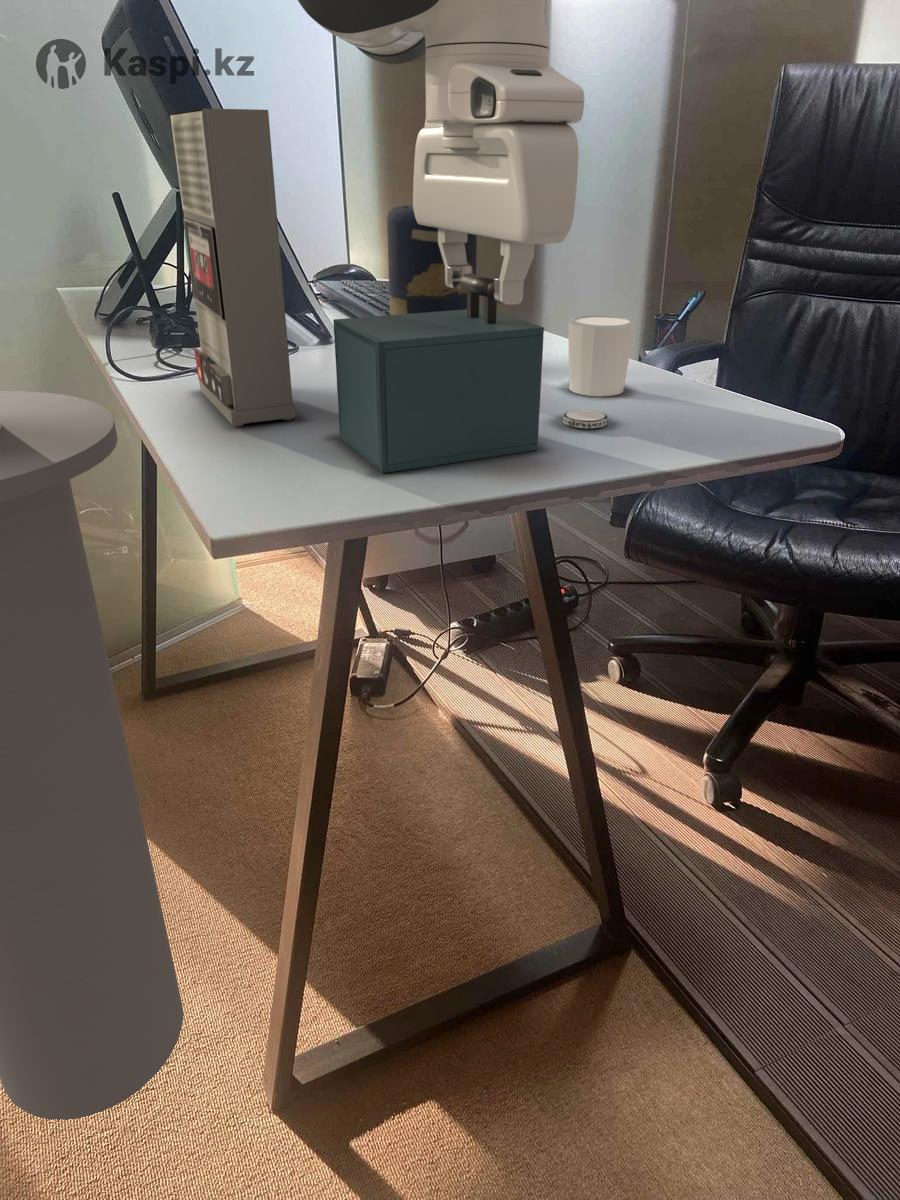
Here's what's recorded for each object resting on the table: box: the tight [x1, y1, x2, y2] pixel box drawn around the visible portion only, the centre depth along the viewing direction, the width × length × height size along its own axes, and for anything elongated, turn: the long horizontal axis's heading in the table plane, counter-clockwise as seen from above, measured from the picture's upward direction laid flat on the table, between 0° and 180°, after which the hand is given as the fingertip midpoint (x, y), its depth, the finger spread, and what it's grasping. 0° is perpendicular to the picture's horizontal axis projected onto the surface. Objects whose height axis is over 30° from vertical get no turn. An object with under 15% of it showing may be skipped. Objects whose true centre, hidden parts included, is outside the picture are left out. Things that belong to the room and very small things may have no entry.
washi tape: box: [562, 409, 608, 429], centre depth 79 cm, size 4×4×1 cm
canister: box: [386, 204, 478, 315], centre depth 93 cm, size 10×10×18 cm
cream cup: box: [567, 315, 637, 397], centre depth 88 cm, size 7×7×7 cm
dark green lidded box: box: [333, 273, 545, 474], centre depth 70 cm, size 14×10×13 cm
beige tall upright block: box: [170, 107, 296, 427], centre depth 78 cm, size 14×6×25 cm, turn 26°
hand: (481, 295), depth 69 cm, fingers open, 7 cm apart
